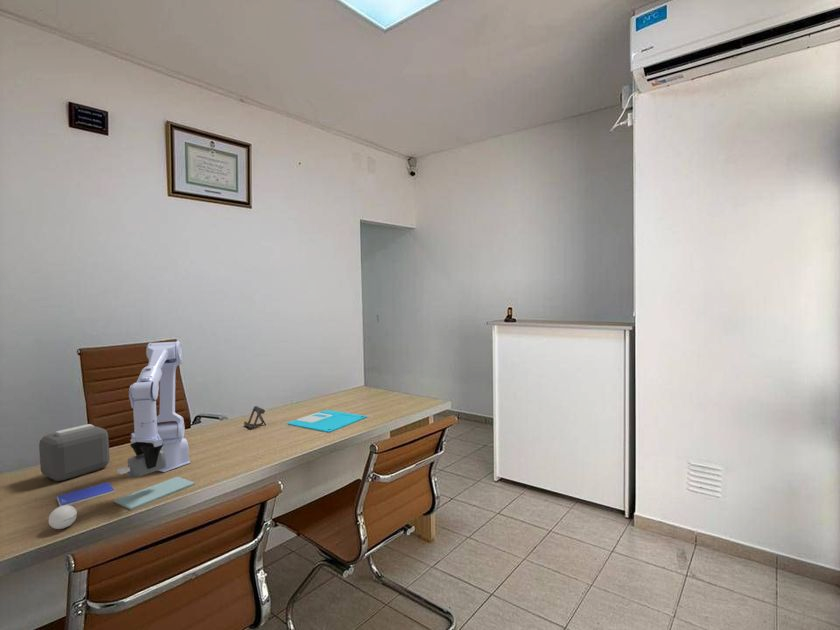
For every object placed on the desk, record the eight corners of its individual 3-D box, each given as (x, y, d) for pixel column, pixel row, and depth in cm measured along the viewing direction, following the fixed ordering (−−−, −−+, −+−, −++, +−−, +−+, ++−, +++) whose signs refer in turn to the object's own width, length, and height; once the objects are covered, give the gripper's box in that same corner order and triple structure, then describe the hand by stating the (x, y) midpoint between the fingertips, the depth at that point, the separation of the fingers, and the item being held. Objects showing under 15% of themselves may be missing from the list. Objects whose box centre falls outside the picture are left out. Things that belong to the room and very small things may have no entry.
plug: (162, 464, 129) (161, 448, 129) (168, 466, 127) (167, 450, 127) (116, 479, 119) (115, 461, 119) (122, 481, 117) (121, 464, 116)
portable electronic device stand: (243, 426, 192) (243, 408, 192) (260, 422, 197) (260, 405, 197) (250, 430, 186) (249, 411, 185) (267, 426, 191) (267, 408, 191)
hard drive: (60, 504, 117) (113, 489, 126) (56, 495, 123) (108, 481, 132) (60, 509, 117) (114, 494, 126) (57, 500, 123) (108, 486, 132)
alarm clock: (98, 461, 152) (96, 420, 152) (113, 467, 146) (110, 424, 146) (41, 478, 138) (38, 432, 138) (54, 485, 132) (51, 437, 132)
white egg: (56, 535, 102) (54, 513, 102) (44, 531, 105) (43, 509, 105) (91, 520, 109) (90, 499, 109) (79, 516, 112) (78, 496, 112)
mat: (177, 478, 135) (177, 476, 135) (195, 484, 130) (194, 482, 130) (114, 502, 119) (114, 500, 119) (131, 510, 114) (131, 508, 114)
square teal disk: (329, 433, 178) (329, 431, 178) (285, 425, 193) (285, 423, 193) (367, 418, 200) (367, 416, 200) (325, 411, 215) (325, 409, 215)
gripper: (119, 421, 124) (121, 466, 124) (142, 428, 116) (145, 475, 117) (144, 416, 130) (147, 458, 130) (168, 421, 122) (171, 466, 123)
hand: (147, 466), depth 124 cm, fingers closed on plug, 4 cm apart
